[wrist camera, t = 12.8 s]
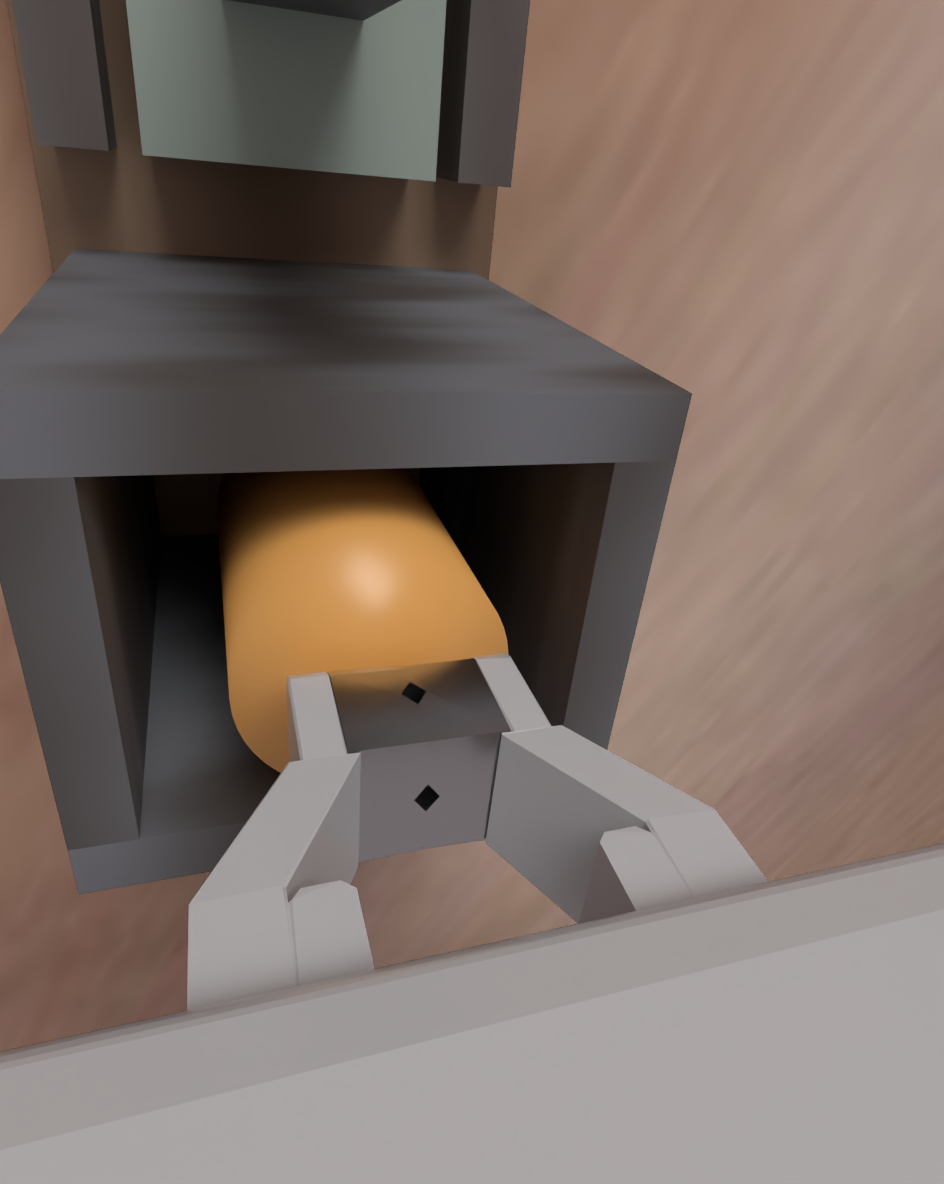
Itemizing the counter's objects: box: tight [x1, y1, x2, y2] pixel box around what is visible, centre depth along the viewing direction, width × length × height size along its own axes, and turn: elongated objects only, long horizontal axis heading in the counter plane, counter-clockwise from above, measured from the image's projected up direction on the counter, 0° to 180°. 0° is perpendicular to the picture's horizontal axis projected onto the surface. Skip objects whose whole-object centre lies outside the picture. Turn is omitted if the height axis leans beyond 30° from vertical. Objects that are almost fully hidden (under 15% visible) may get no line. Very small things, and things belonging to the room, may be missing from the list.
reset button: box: [217, 468, 508, 773], centre depth 13 cm, size 4×4×6 cm
